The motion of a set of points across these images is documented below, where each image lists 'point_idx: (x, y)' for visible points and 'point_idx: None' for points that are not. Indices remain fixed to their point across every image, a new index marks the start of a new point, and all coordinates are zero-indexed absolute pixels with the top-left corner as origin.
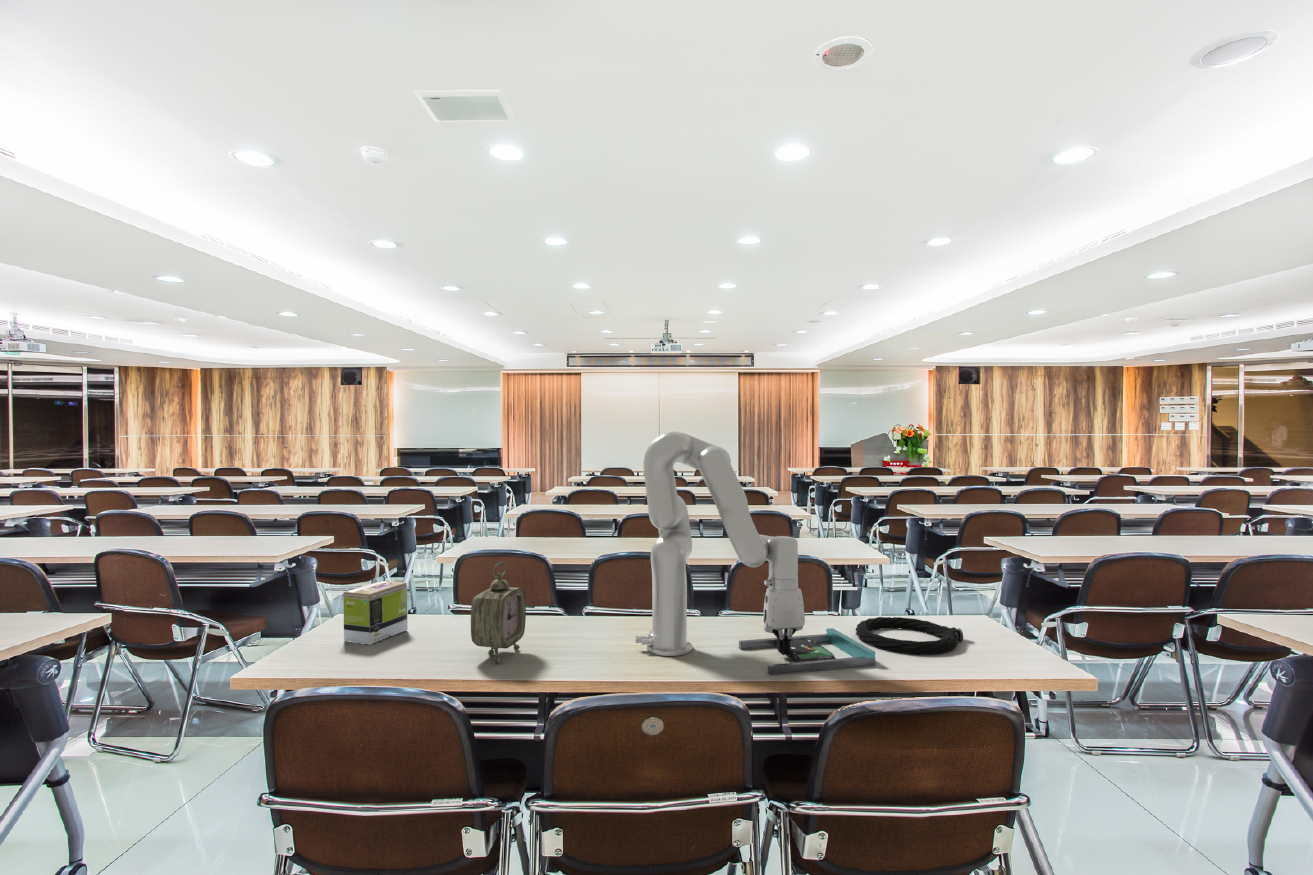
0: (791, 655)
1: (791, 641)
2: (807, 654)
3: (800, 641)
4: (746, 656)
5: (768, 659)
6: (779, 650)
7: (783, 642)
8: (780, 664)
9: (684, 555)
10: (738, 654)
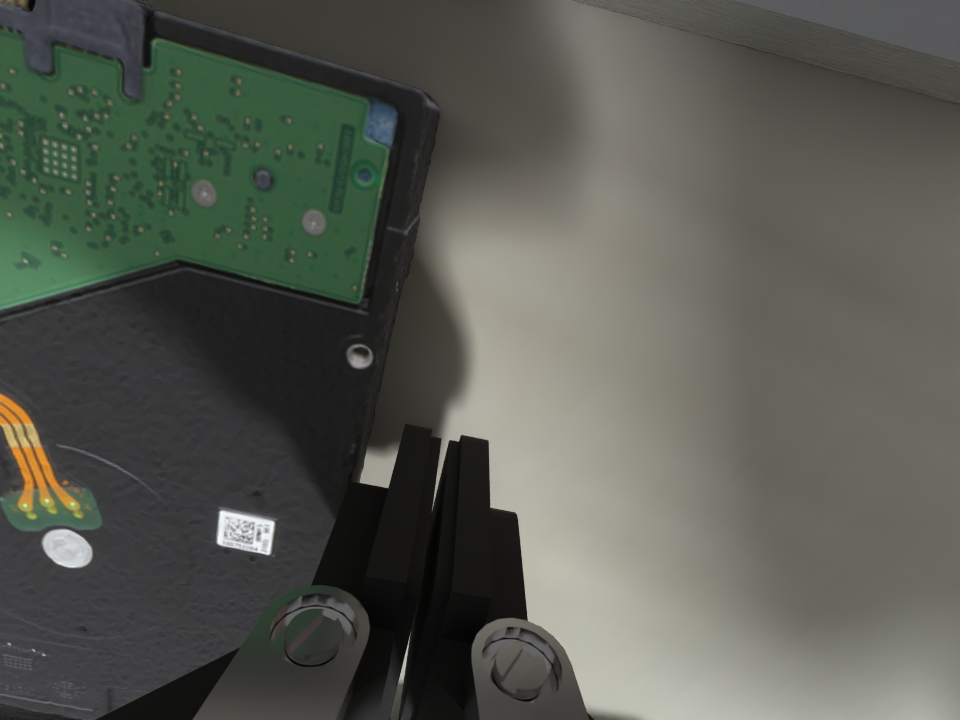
0: (371, 401)
1: None
2: (174, 233)
3: (22, 662)
4: (745, 635)
5: (613, 495)
6: (512, 512)
7: (486, 560)
8: (951, 19)
9: None
10: (766, 694)
